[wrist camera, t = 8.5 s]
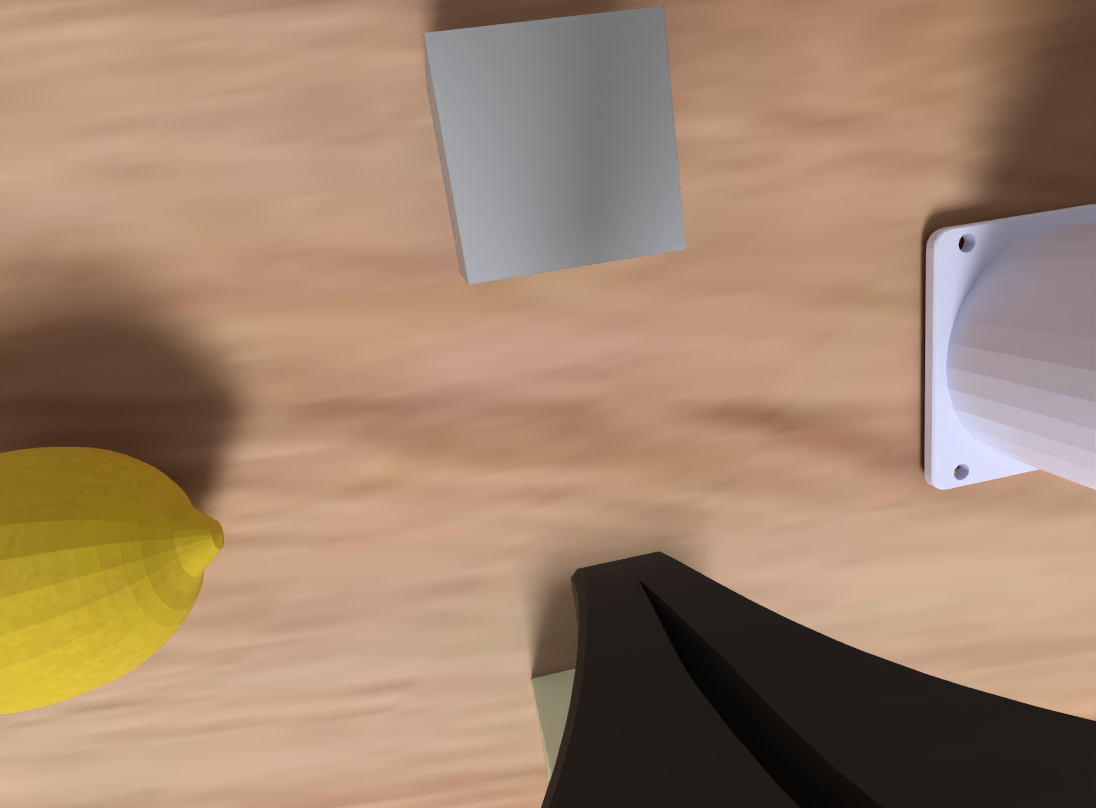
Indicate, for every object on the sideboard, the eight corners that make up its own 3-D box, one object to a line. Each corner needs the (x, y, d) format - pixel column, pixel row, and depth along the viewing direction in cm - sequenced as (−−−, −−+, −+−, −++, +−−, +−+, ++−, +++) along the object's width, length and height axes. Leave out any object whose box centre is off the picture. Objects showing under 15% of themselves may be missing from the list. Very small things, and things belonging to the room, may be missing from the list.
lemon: (256, 448, 18) (-51, 511, 17) (152, 380, 13) (-297, 466, 12) (277, 653, 17) (-61, 735, 16) (167, 671, 11) (-349, 794, 10)
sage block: (668, 645, 21) (727, 749, 17) (680, 760, 22) (739, 884, 18) (530, 677, 20) (555, 792, 16) (550, 793, 22) (578, 929, 17)
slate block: (604, 68, 17) (663, 5, 12) (624, 248, 18) (685, 249, 13) (427, 90, 16) (424, 32, 12) (460, 274, 17) (468, 284, 13)
